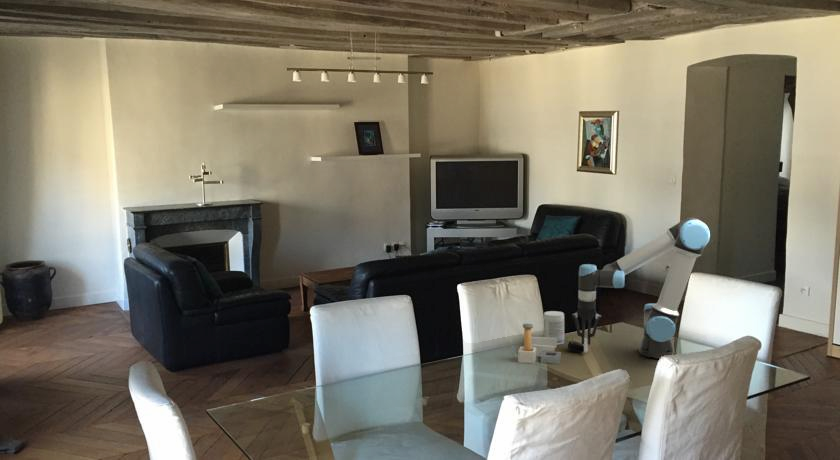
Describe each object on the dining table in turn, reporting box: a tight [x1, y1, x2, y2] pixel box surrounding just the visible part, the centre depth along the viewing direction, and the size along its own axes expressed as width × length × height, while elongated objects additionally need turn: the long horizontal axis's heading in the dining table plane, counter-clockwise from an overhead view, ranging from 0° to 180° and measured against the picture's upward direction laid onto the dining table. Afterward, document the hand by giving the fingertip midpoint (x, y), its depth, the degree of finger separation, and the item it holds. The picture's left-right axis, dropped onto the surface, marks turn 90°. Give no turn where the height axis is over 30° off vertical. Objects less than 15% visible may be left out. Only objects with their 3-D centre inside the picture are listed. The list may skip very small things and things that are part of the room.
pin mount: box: [540, 351, 562, 365], centre depth 313 cm, size 8×8×3 cm
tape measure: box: [567, 340, 585, 353], centre depth 326 cm, size 7×7×4 cm
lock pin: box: [522, 323, 534, 351], centre depth 313 cm, size 4×4×16 cm
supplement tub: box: [543, 310, 565, 345], centre depth 338 cm, size 10×10×15 cm
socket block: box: [517, 346, 537, 364], centre depth 314 cm, size 7×7×5 cm
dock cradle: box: [531, 335, 558, 357], centre depth 326 cm, size 13×14×5 cm
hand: (585, 351), depth 321 cm, fingers closed
